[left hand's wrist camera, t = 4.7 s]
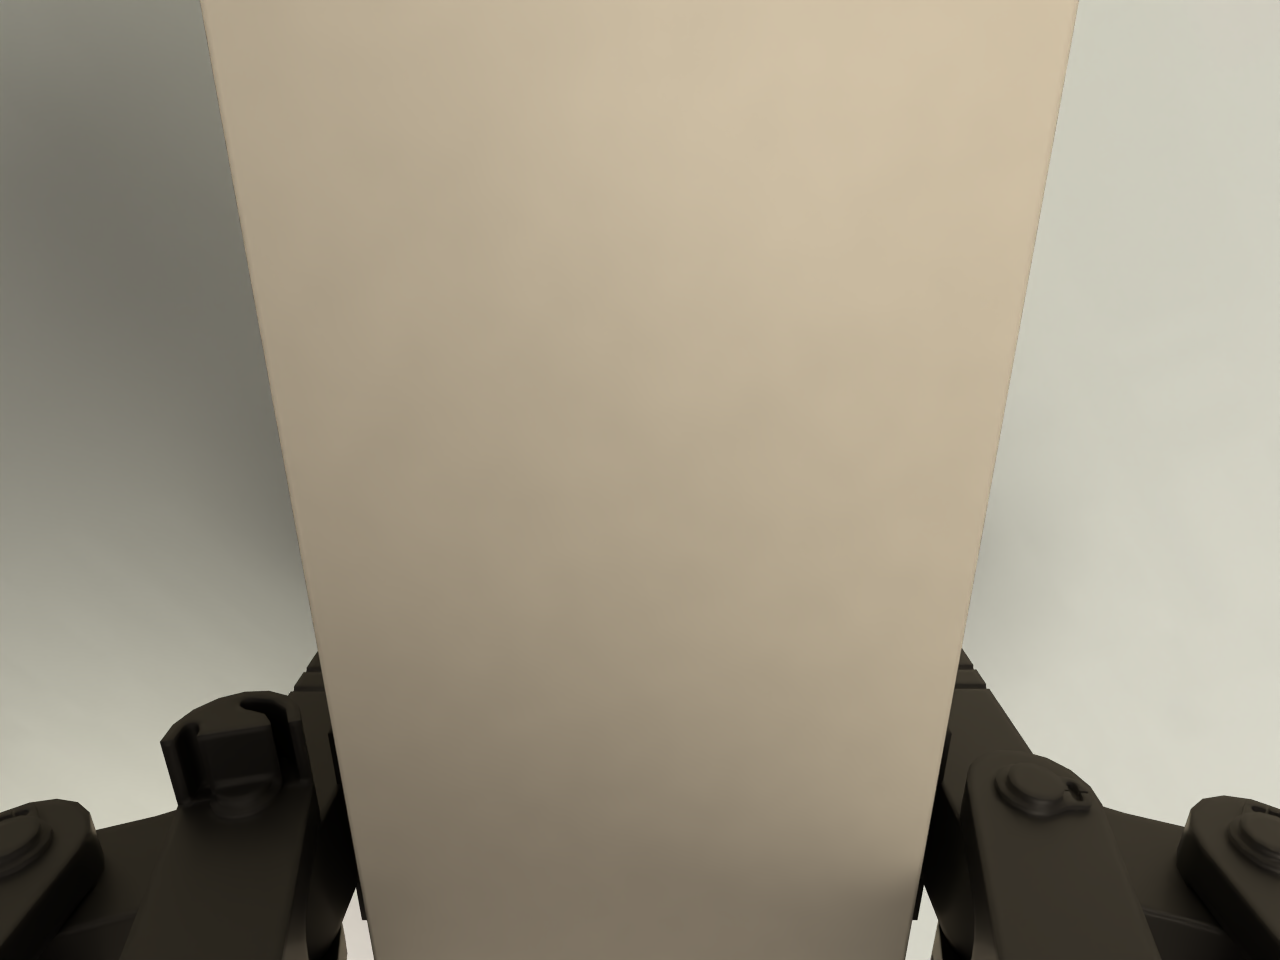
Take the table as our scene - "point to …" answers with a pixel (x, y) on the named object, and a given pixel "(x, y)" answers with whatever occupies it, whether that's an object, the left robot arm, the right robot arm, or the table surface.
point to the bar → (639, 440)
